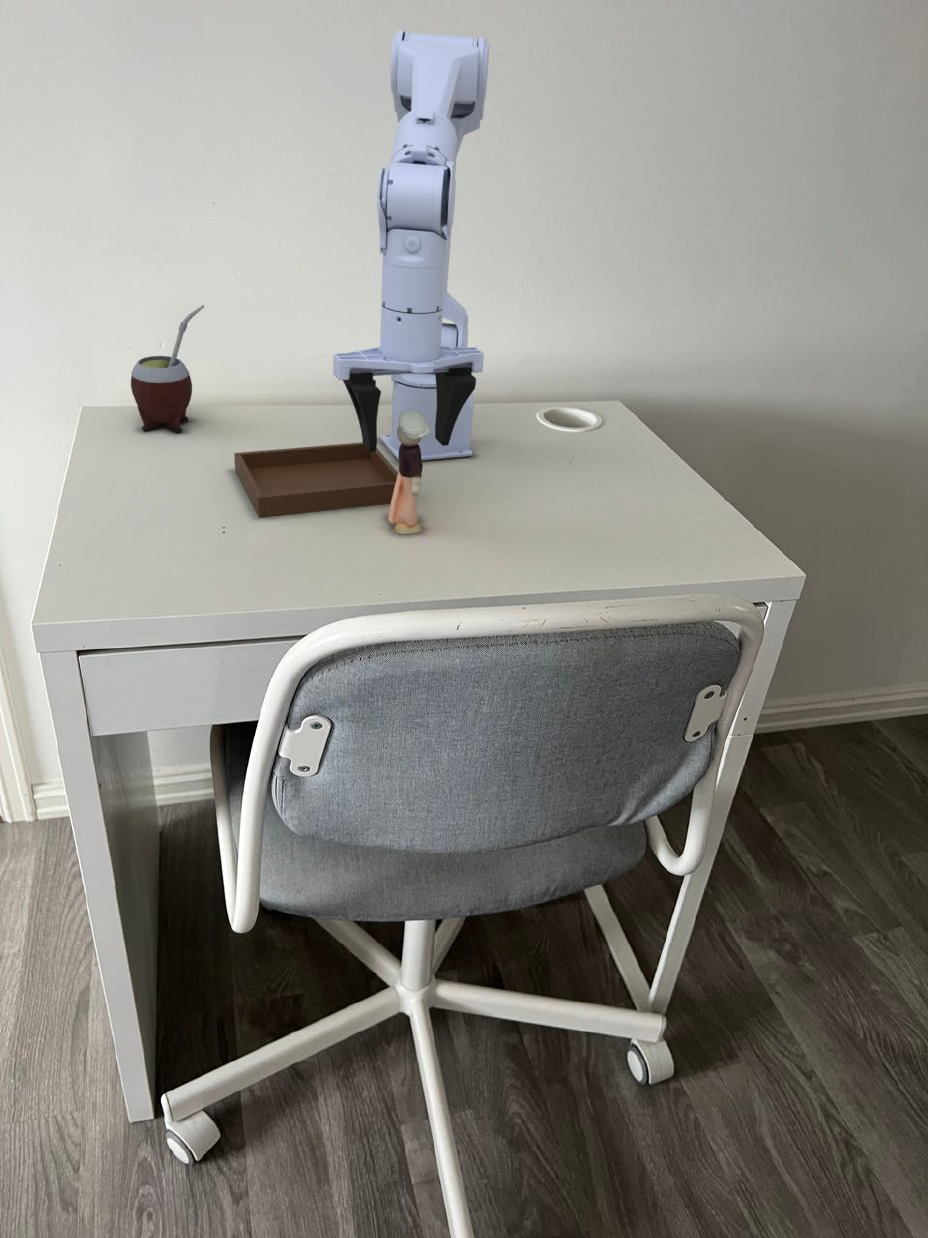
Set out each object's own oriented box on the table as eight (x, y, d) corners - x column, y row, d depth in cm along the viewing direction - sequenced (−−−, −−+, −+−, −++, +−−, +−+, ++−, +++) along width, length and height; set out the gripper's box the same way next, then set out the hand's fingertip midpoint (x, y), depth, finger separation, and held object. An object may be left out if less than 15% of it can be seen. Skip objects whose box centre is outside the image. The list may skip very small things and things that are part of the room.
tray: (371, 459, 116) (371, 441, 115) (405, 501, 107) (406, 482, 106) (235, 471, 110) (234, 452, 109) (258, 517, 101) (258, 497, 100)
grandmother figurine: (377, 512, 104) (381, 398, 97) (411, 509, 105) (417, 396, 98) (399, 546, 98) (405, 426, 91) (435, 542, 99) (443, 424, 92)
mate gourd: (124, 423, 120) (110, 299, 112) (179, 410, 125) (169, 291, 117) (158, 441, 116) (146, 314, 108) (214, 427, 121) (206, 304, 113)
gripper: (349, 320, 84) (347, 466, 91) (501, 314, 89) (488, 453, 96) (326, 299, 89) (327, 439, 96) (471, 295, 95) (461, 428, 102)
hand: (406, 444), depth 97 cm, fingers open, 7 cm apart
